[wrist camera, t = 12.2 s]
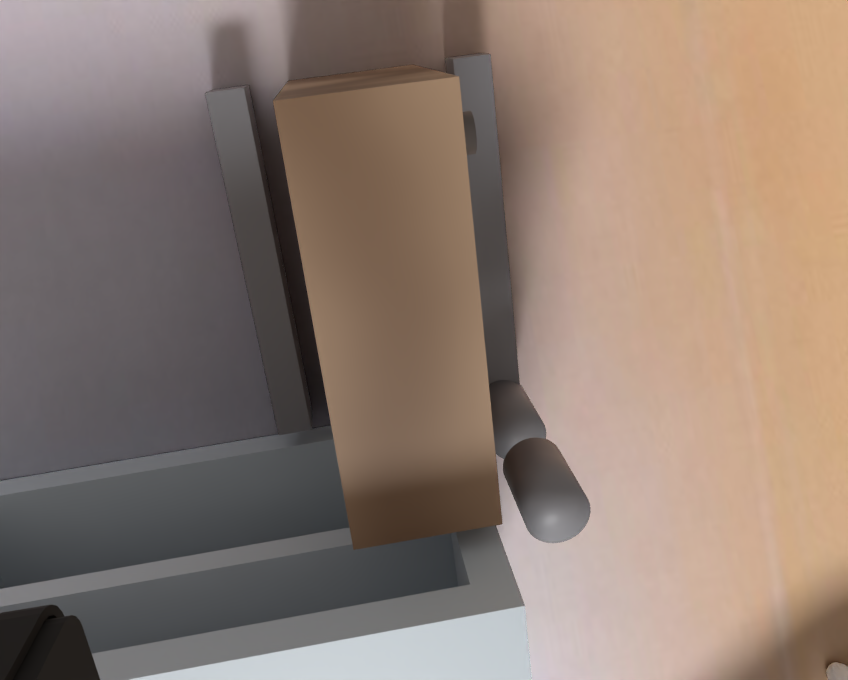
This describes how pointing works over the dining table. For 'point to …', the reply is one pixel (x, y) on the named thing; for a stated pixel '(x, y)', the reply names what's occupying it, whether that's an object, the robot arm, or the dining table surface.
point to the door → (394, 295)
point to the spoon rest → (837, 671)
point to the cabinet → (292, 502)
